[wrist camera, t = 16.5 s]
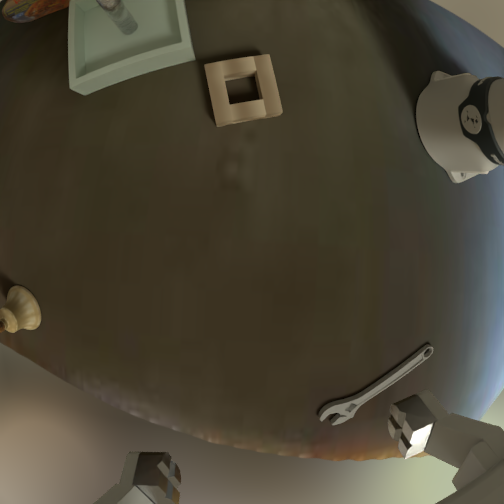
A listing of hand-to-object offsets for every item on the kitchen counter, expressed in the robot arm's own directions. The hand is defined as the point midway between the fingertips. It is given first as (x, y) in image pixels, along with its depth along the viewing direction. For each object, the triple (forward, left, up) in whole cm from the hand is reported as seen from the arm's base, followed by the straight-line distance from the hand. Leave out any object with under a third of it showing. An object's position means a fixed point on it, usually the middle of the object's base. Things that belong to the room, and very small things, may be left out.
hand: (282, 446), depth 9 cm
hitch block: (-4, -19, -31) cm, 37 cm away
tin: (+23, -46, -31) cm, 60 cm away
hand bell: (+39, +3, -31) cm, 50 cm away
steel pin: (+9, -33, -30) cm, 45 cm away
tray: (+9, -33, -31) cm, 46 cm away
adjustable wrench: (-19, +33, -32) cm, 50 cm away
